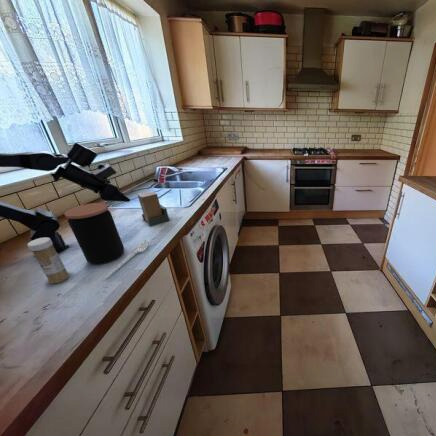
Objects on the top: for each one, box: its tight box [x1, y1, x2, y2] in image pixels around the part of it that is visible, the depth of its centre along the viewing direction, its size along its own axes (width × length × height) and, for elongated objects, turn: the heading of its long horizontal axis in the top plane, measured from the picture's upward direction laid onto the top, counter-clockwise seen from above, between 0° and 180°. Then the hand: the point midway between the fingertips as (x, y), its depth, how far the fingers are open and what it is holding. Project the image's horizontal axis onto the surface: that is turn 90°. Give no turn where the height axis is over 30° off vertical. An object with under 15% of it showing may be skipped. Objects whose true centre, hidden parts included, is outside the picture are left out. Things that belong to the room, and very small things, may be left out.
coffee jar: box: [63, 202, 125, 265], centre depth 75 cm, size 11×11×18 cm
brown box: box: [136, 190, 163, 224], centre depth 101 cm, size 6×6×13 cm
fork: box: [104, 239, 150, 279], centre depth 77 cm, size 3×20×2 cm, turn 177°
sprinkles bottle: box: [26, 237, 70, 284], centre depth 66 cm, size 5×5×14 cm
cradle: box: [141, 204, 170, 227], centre depth 103 cm, size 8×9×6 cm
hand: (126, 197), depth 93 cm, fingers open, 9 cm apart
